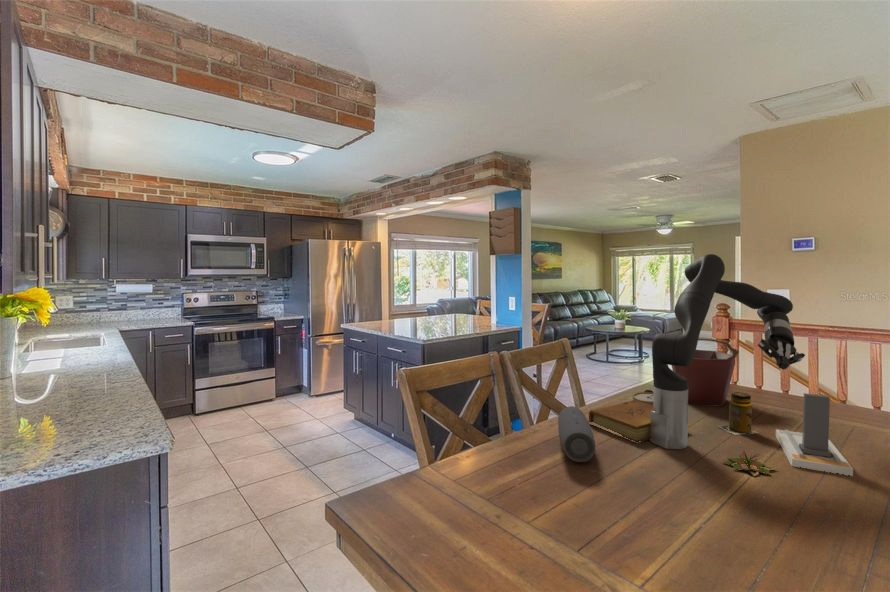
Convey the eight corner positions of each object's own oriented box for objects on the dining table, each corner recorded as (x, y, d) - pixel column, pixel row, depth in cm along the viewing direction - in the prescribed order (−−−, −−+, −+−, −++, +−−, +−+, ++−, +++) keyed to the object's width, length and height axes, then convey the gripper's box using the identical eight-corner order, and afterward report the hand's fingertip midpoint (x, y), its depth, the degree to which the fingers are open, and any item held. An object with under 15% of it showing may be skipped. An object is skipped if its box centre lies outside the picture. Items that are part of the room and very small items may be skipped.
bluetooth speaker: (597, 468, 112) (598, 431, 112) (561, 465, 114) (561, 429, 114) (586, 436, 135) (587, 405, 134) (556, 434, 136) (556, 403, 136)
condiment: (758, 433, 135) (759, 396, 134) (734, 435, 133) (735, 398, 133) (739, 425, 142) (740, 390, 141) (716, 427, 141) (717, 391, 140)
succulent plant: (741, 456, 119) (742, 440, 119) (788, 475, 108) (789, 457, 108) (711, 463, 115) (711, 446, 115) (756, 483, 104) (757, 465, 104)
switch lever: (798, 447, 118) (800, 392, 117) (827, 451, 115) (829, 394, 114) (802, 452, 115) (803, 395, 114) (831, 457, 112) (833, 398, 111)
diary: (633, 414, 156) (633, 399, 156) (682, 431, 139) (682, 413, 139) (588, 425, 145) (588, 409, 144) (636, 444, 128) (637, 425, 128)
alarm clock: (625, 397, 167) (647, 384, 175) (627, 408, 168) (648, 395, 175) (653, 404, 157) (674, 390, 165) (654, 416, 158) (675, 402, 166)
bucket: (736, 397, 173) (738, 336, 172) (740, 412, 155) (741, 345, 153) (669, 389, 186) (670, 333, 185) (664, 402, 168) (665, 340, 166)
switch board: (775, 435, 133) (775, 426, 132) (826, 442, 127) (826, 432, 126) (791, 466, 112) (792, 455, 112) (852, 476, 106) (853, 464, 106)
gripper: (762, 319, 142) (766, 349, 129) (808, 334, 137) (816, 367, 125) (750, 335, 146) (752, 366, 134) (794, 350, 142) (800, 384, 130)
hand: (783, 366), depth 129 cm, fingers closed
